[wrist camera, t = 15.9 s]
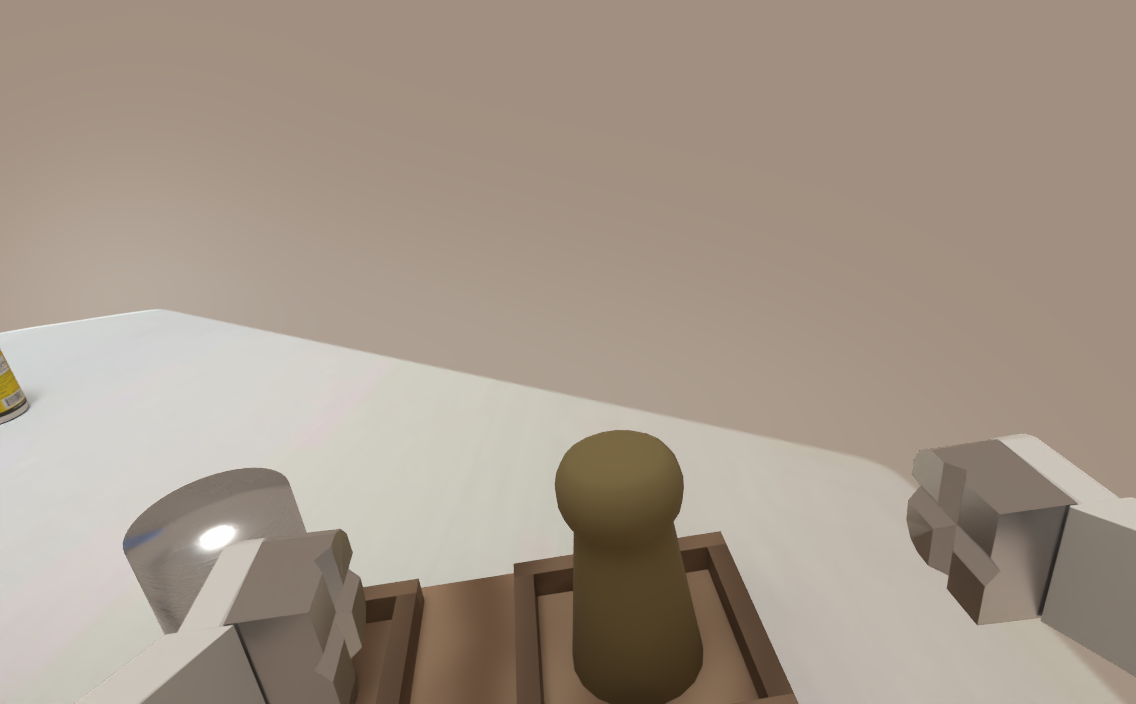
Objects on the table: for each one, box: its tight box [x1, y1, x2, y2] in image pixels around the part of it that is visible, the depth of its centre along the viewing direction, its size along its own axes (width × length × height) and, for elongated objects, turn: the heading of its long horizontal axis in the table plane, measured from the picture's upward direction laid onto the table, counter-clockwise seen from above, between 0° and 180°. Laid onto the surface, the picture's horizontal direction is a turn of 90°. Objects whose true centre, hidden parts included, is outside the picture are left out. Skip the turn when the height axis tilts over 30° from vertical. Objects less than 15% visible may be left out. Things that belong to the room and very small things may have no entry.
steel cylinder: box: [123, 468, 358, 704], centre depth 29 cm, size 6×6×11 cm
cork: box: [555, 430, 703, 704], centre depth 29 cm, size 6×6×11 cm
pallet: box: [351, 531, 798, 704], centre depth 31 cm, size 27×13×3 cm, turn 95°
